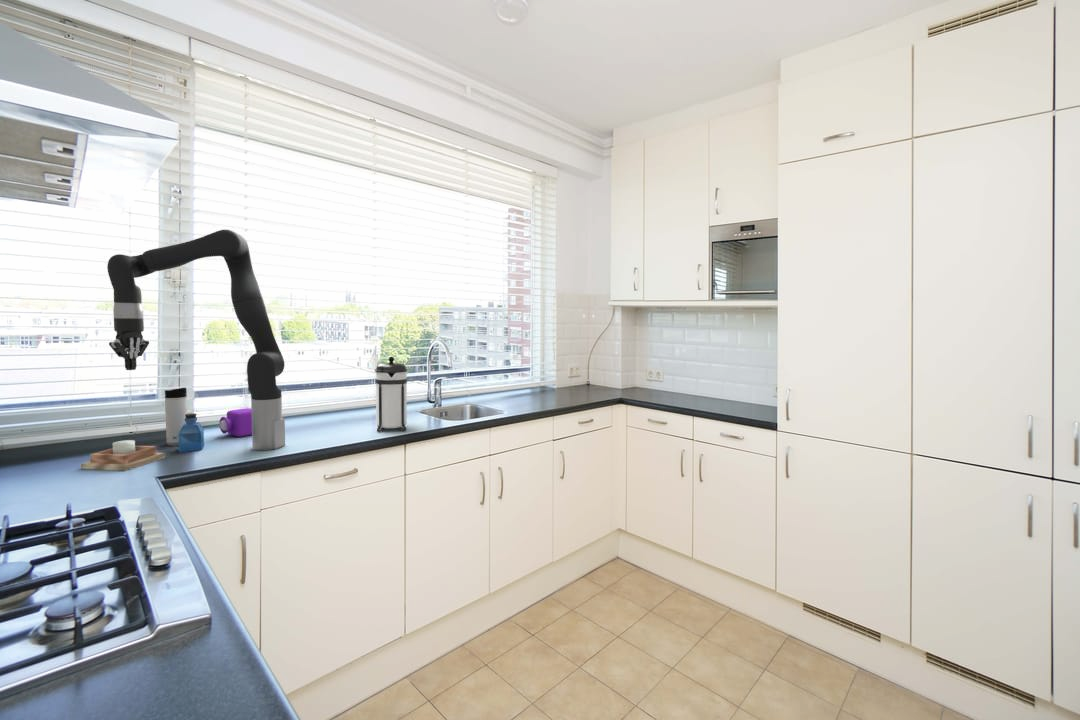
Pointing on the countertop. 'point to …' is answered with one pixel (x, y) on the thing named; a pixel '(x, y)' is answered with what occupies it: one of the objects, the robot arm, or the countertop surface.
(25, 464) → the countertop surface
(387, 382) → the coffee press
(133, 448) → the white cube
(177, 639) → the countertop surface
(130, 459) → the socket stand
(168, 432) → the travel mug
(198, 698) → the countertop surface
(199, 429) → the perfume bottle
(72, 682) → the countertop surface
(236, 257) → the robot arm
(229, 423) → the toy camera
